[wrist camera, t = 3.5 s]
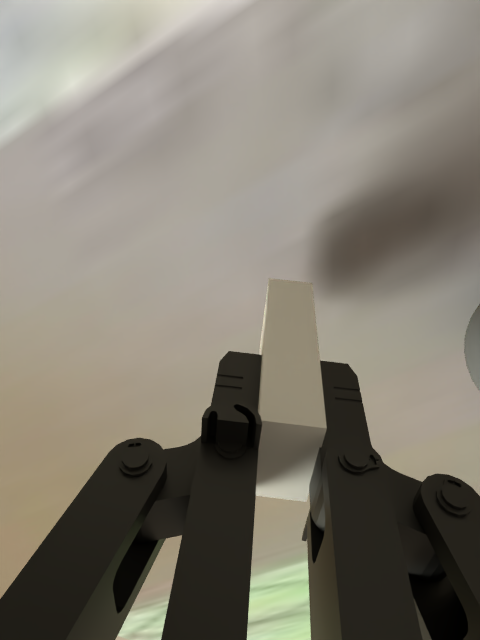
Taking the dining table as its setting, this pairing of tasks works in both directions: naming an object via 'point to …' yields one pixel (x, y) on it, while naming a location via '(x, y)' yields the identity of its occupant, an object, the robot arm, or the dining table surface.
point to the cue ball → (473, 347)
